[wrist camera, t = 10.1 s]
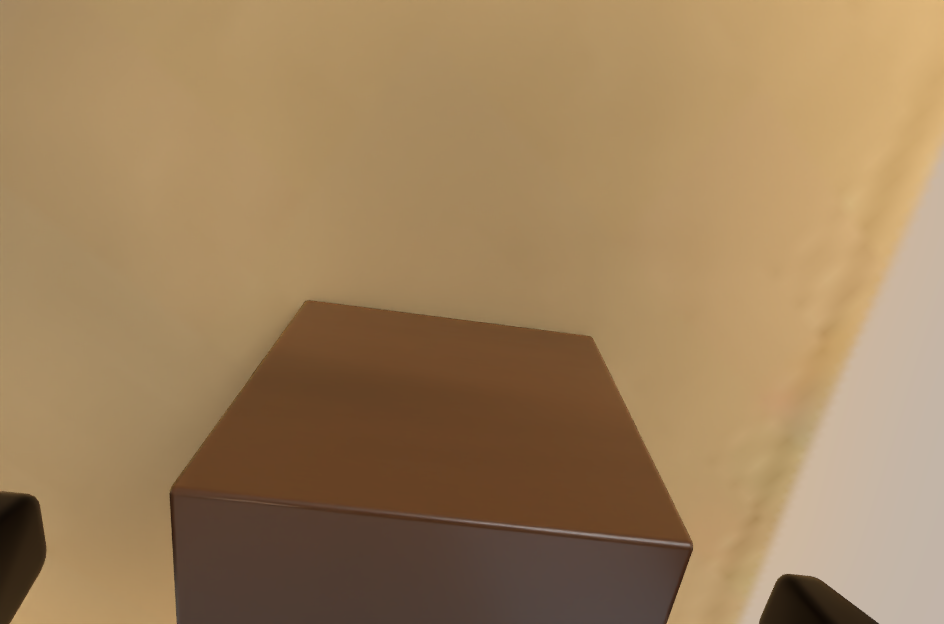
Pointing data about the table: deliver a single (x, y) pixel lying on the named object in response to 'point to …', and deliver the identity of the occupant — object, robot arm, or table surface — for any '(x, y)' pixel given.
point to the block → (425, 484)
